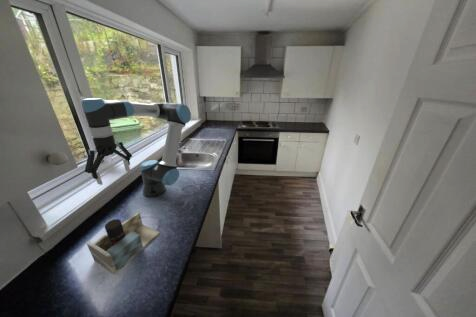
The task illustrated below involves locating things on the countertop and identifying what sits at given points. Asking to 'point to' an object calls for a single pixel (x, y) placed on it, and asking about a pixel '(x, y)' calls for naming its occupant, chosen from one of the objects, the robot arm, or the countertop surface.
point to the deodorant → (114, 231)
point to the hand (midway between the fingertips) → (115, 177)
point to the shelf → (128, 229)
